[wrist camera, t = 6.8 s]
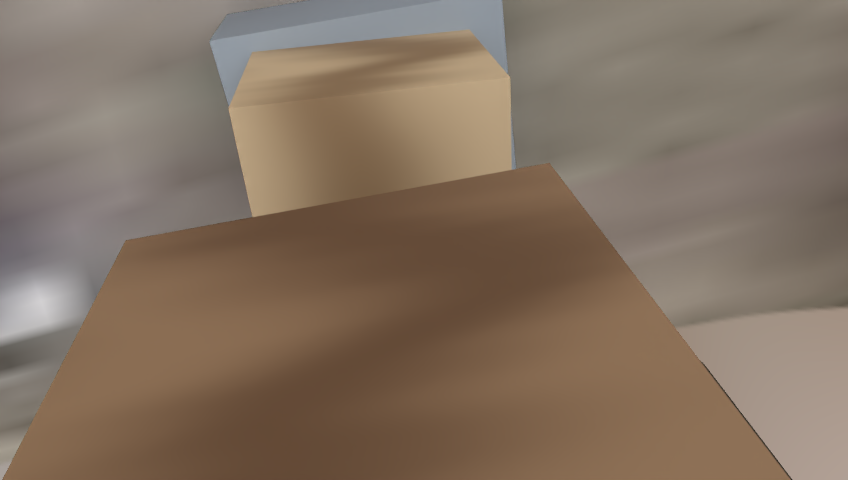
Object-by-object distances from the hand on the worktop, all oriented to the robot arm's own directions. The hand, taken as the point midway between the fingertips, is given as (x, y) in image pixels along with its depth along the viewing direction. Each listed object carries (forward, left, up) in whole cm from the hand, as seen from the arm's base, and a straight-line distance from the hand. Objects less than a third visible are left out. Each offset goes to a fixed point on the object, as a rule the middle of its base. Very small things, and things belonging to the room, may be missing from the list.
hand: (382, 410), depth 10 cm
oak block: (-1, 0, -11) cm, 11 cm away
